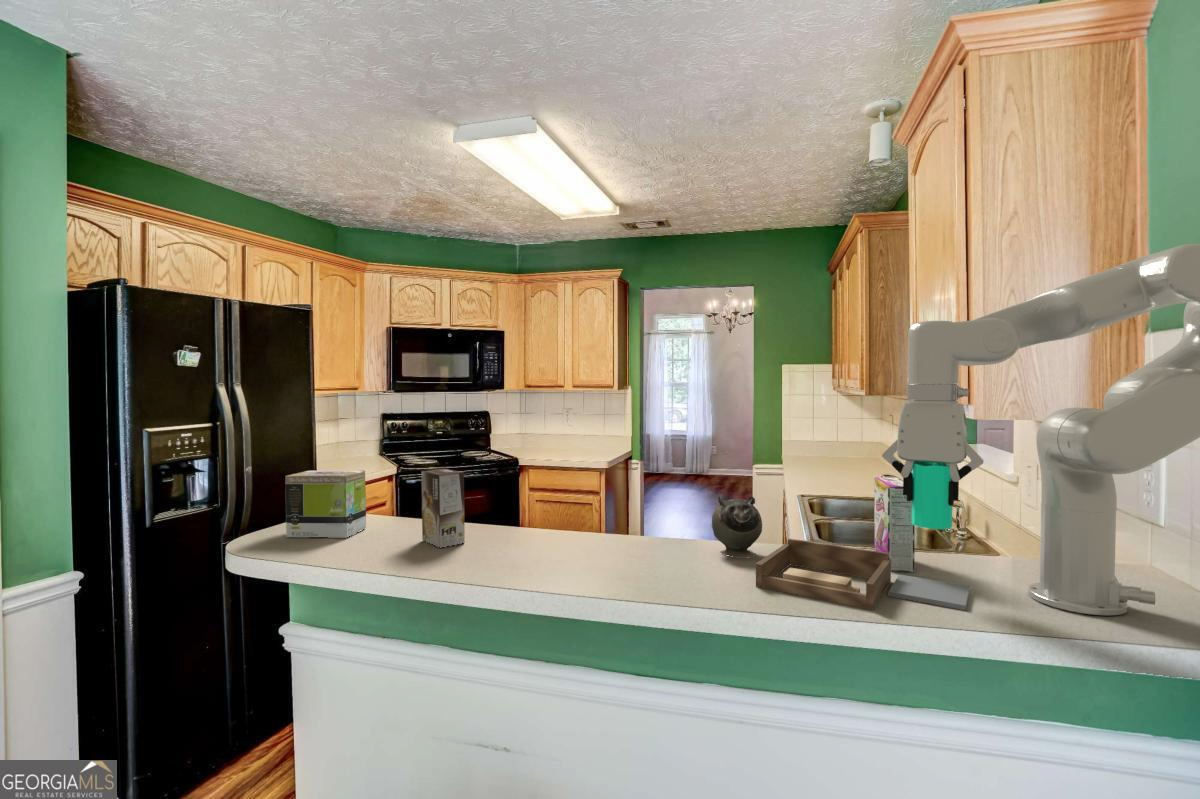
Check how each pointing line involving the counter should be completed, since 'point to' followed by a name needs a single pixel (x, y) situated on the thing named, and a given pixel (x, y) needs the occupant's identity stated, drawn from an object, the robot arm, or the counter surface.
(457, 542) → the coffee box
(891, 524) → the candy bar box
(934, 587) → the mat
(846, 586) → the offcut stack
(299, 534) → the tea box
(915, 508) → the candle
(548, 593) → the counter surface
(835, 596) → the wooden tray
